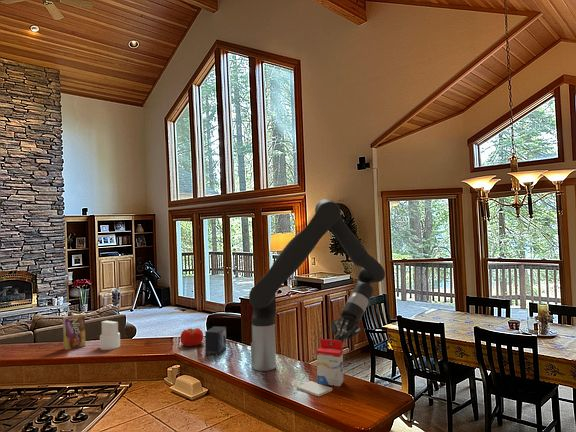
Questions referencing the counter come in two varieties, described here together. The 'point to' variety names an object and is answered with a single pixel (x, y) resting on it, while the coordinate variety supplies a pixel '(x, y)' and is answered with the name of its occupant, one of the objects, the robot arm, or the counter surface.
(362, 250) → the robot arm
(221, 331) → the small box
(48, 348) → the counter surface
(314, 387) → the pad
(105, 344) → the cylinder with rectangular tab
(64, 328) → the candy box
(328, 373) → the ink box
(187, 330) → the tomato
